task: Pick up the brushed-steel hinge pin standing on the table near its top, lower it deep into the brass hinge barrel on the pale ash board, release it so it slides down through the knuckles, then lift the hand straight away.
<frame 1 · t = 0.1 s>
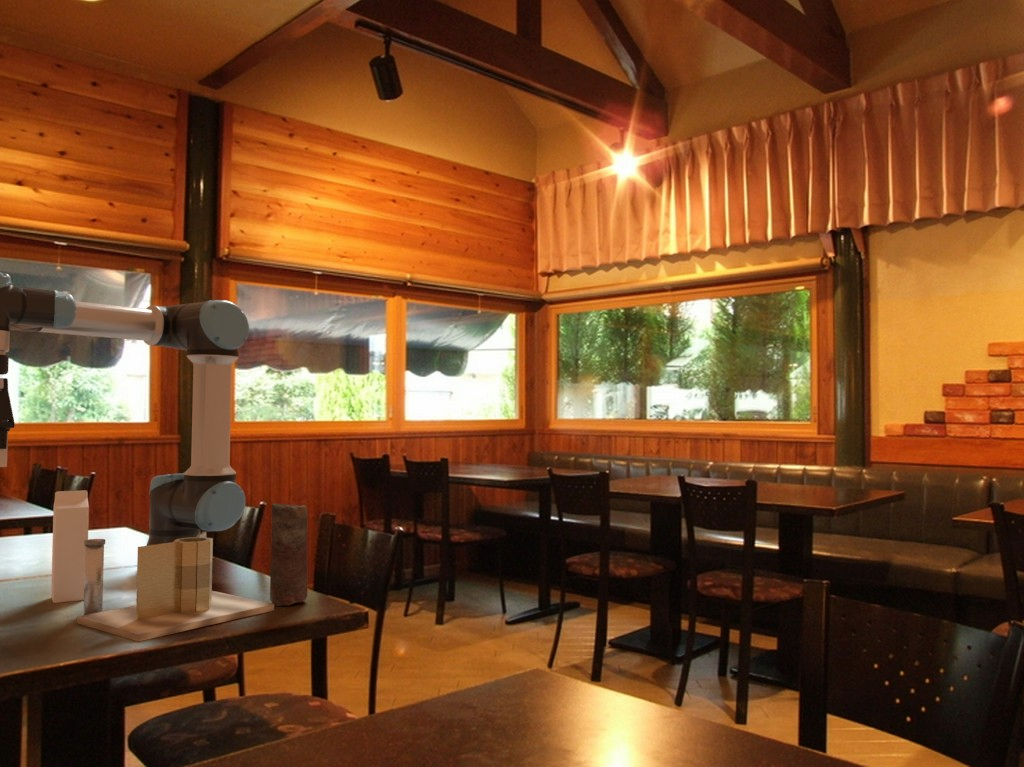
milk: (68, 599, 172), on the table
candle: (288, 603, 170), on the table
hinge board: (179, 616, 158), on the table
hinge pin: (92, 614, 158), on the table
hinge: (191, 615, 159), resting on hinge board
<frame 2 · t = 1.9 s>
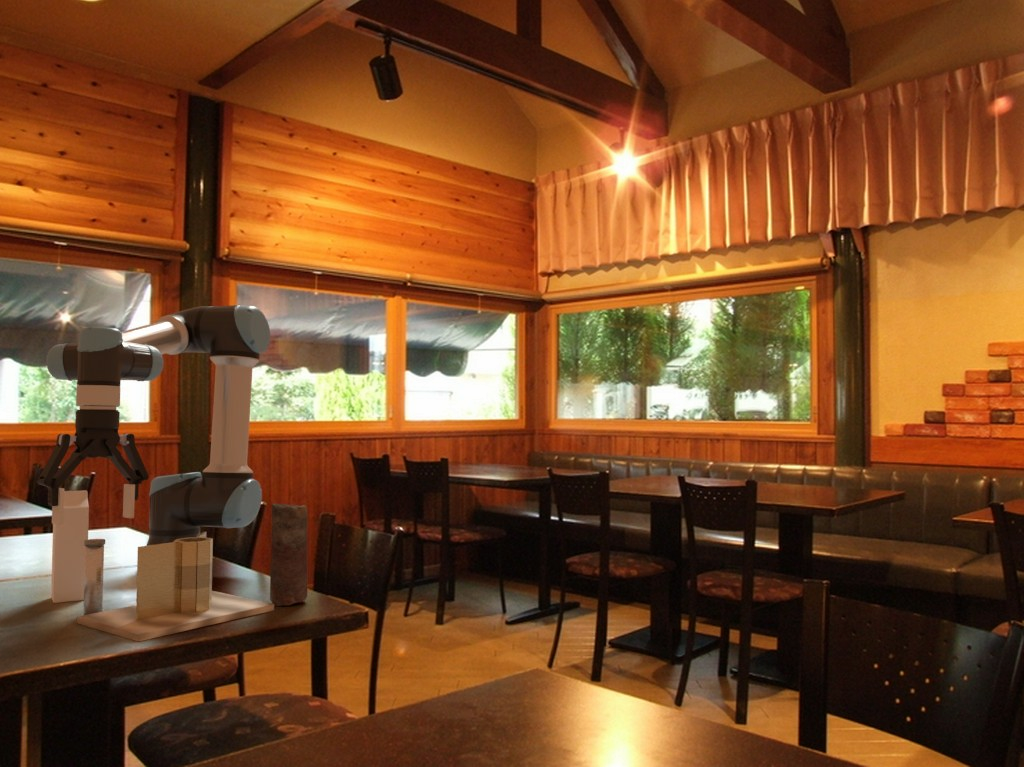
hand: (94, 520, 159), 18 cm above the table, tool pointing down, fingers open, 13 cm apart
nothing on the table moved.
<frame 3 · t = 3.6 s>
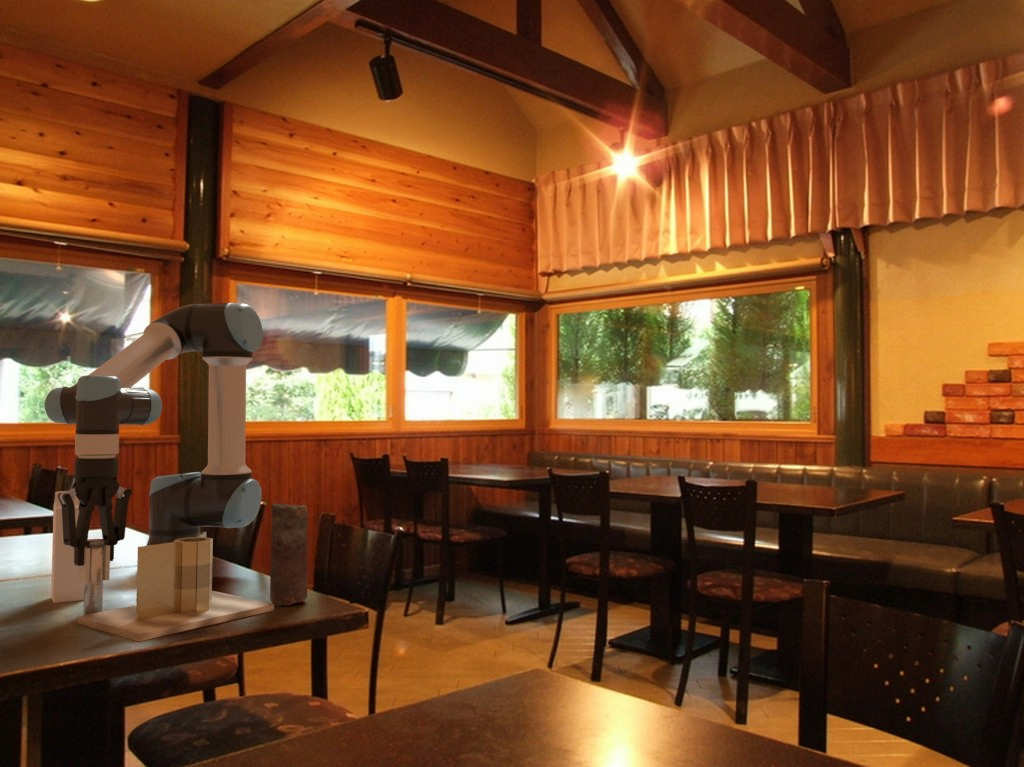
hand: (93, 580, 159), 6 cm above the table, tool pointing down, fingers closed on hinge pin, 3 cm apart
hinge pin: (92, 614, 158), on the table, touching gripper
everything else where it was.
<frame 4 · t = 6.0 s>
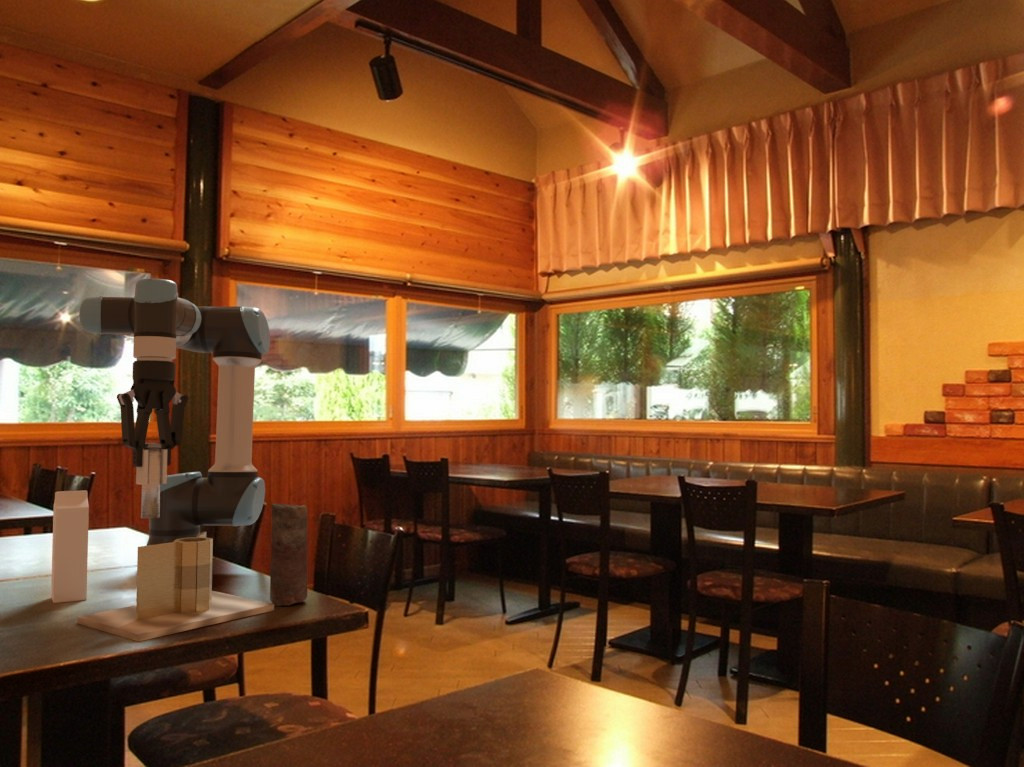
hand: (151, 483, 159), 25 cm above the table, tool pointing down, fingers closed on hinge pin, 3 cm apart
hinge pin: (150, 517, 159), point 18 cm above the table, touching gripper
everything else where it was.
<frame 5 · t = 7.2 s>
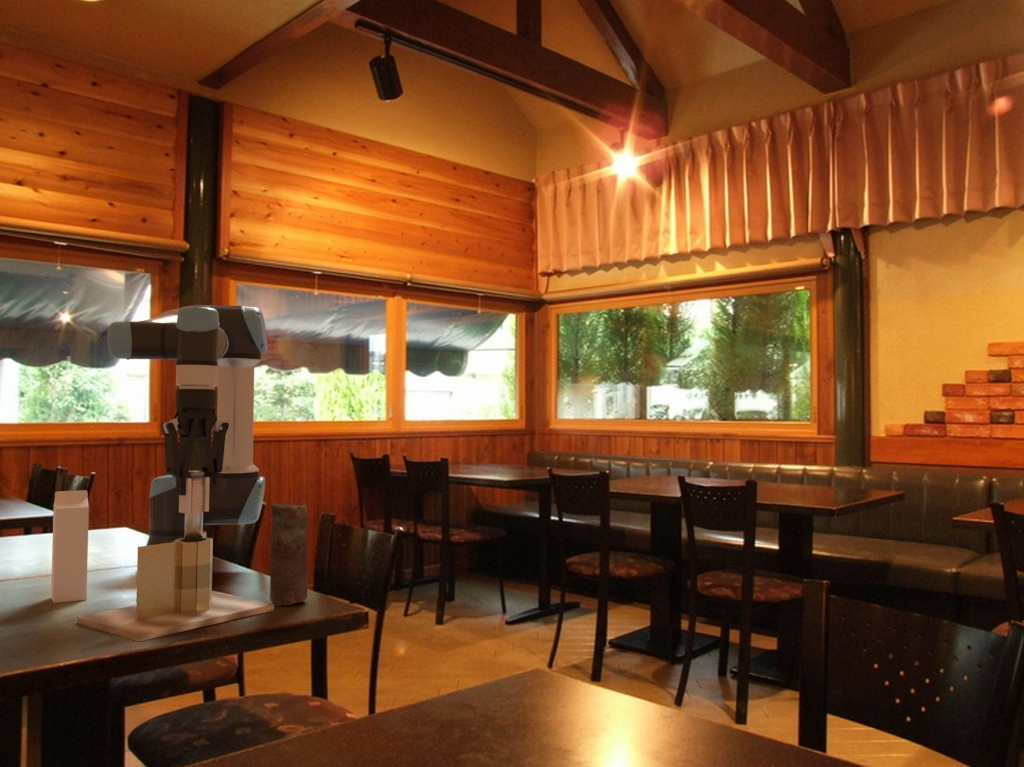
hand: (193, 511, 159), 20 cm above the table, tool pointing down, fingers closed on hinge pin, 3 cm apart
hinge pin: (193, 545, 159), point 13 cm above the table, touching gripper
everything else where it was.
when the fingers open (16 cm above the table, at t = 8.4 s): hinge pin drops 9 cm, resting on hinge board.
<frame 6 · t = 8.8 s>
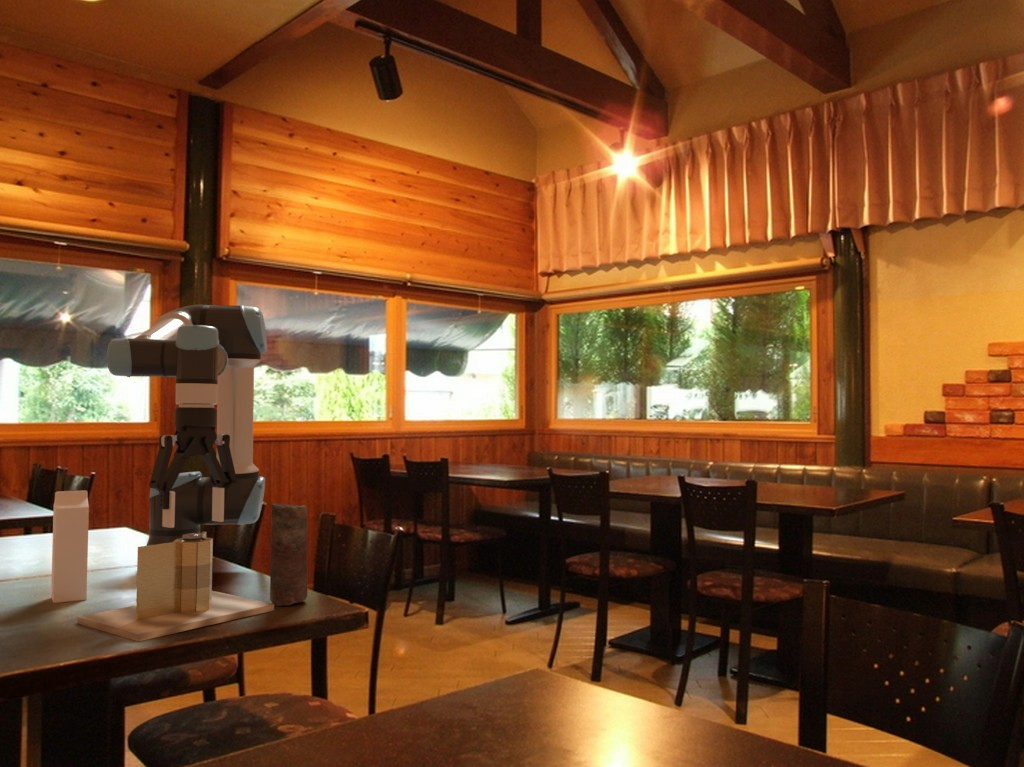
hand: (193, 524, 159), 17 cm above the table, tool pointing down, fingers open, 10 cm apart
hinge pin: (192, 608, 159), point 1 cm above the table, touching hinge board
everything else where it was.
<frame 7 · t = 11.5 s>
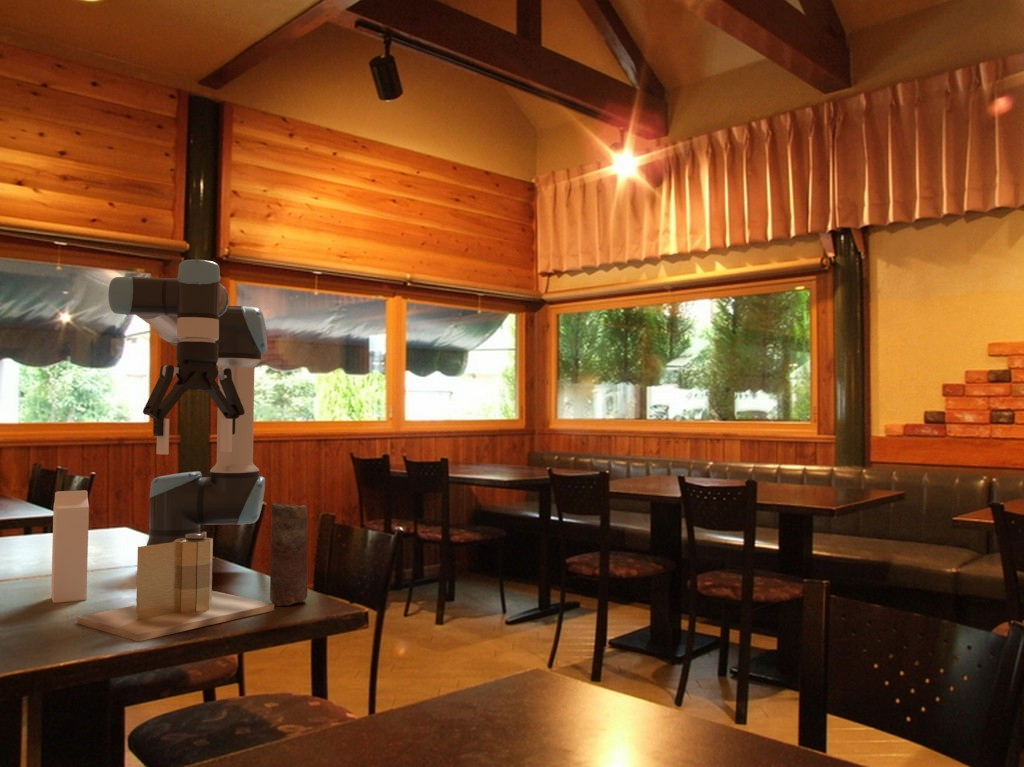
hand: (195, 453, 160), 31 cm above the table, tool pointing down, fingers open, 13 cm apart
nothing on the table moved.
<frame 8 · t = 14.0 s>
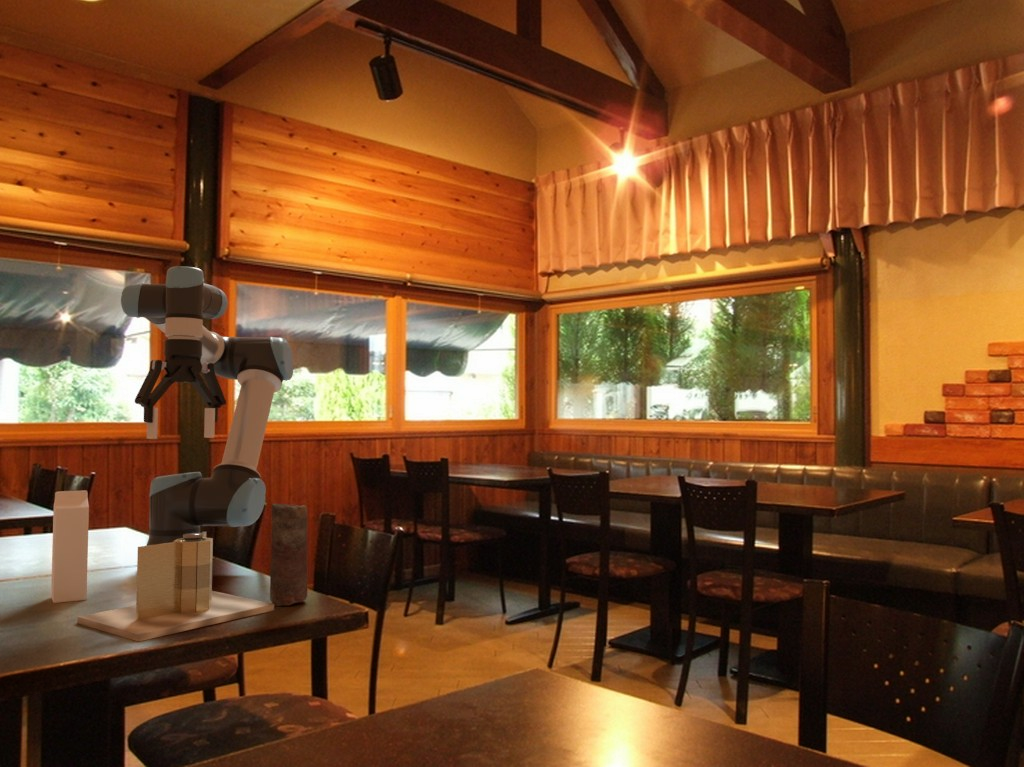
hand: (181, 438, 180), 33 cm above the table, tool pointing down, fingers open, 13 cm apart
nothing on the table moved.
at the end: hinge pin 0.1 cm from the hinge (horizontally); hinge pin point 1.2 cm above the table; hinge pin tilted 1° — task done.
